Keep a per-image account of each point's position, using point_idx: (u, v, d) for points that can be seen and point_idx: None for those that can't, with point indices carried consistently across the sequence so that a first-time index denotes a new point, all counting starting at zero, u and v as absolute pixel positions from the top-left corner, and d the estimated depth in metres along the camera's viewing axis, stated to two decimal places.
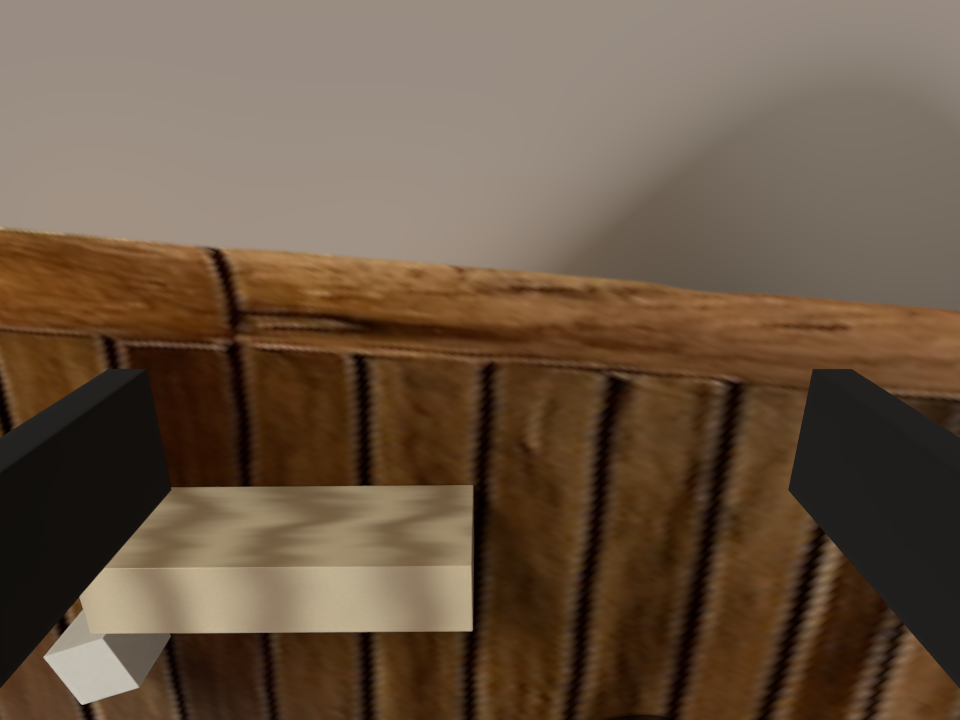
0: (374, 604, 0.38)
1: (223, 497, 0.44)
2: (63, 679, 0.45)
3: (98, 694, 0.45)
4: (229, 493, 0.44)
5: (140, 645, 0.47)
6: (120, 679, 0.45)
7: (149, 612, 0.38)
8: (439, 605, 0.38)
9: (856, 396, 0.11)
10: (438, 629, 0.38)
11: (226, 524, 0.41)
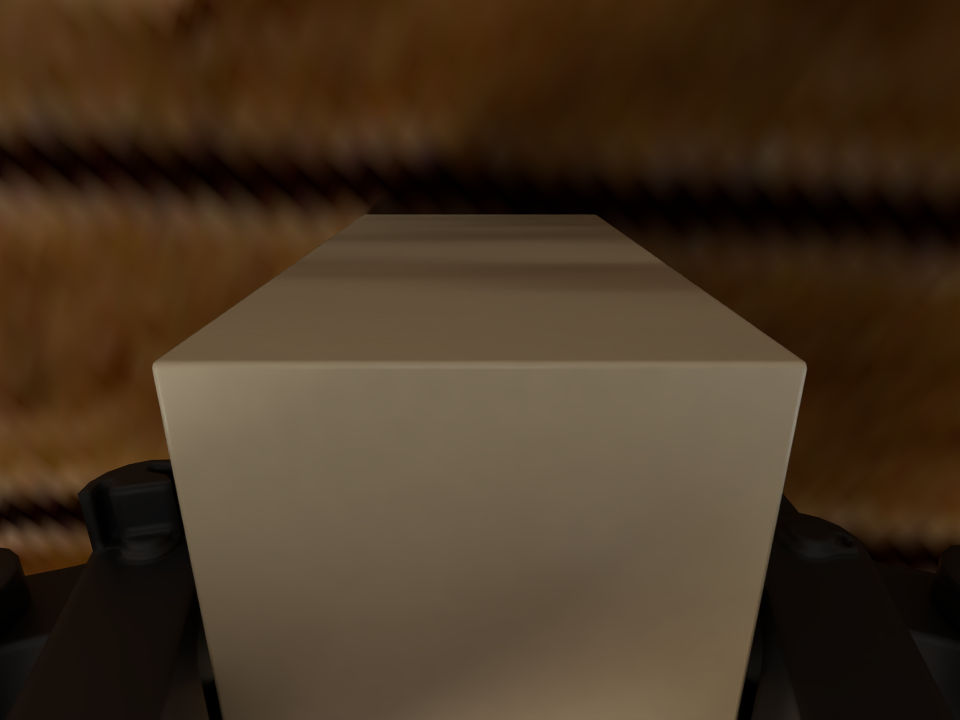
0: None
1: None
2: None
3: None
4: None
5: None
6: None
7: None
8: (526, 581, 0.05)
9: None
10: (743, 592, 0.05)
11: None
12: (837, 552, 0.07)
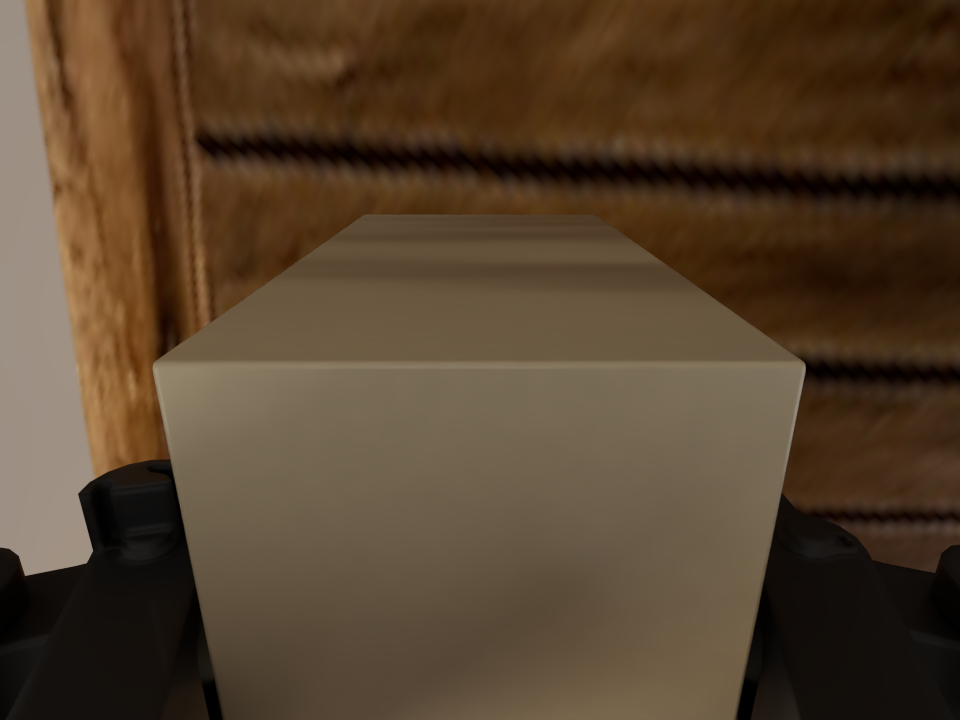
0: None
1: None
2: None
3: None
4: None
5: None
6: None
7: None
8: (526, 581, 0.05)
9: None
10: (742, 591, 0.05)
11: None
12: (837, 551, 0.07)
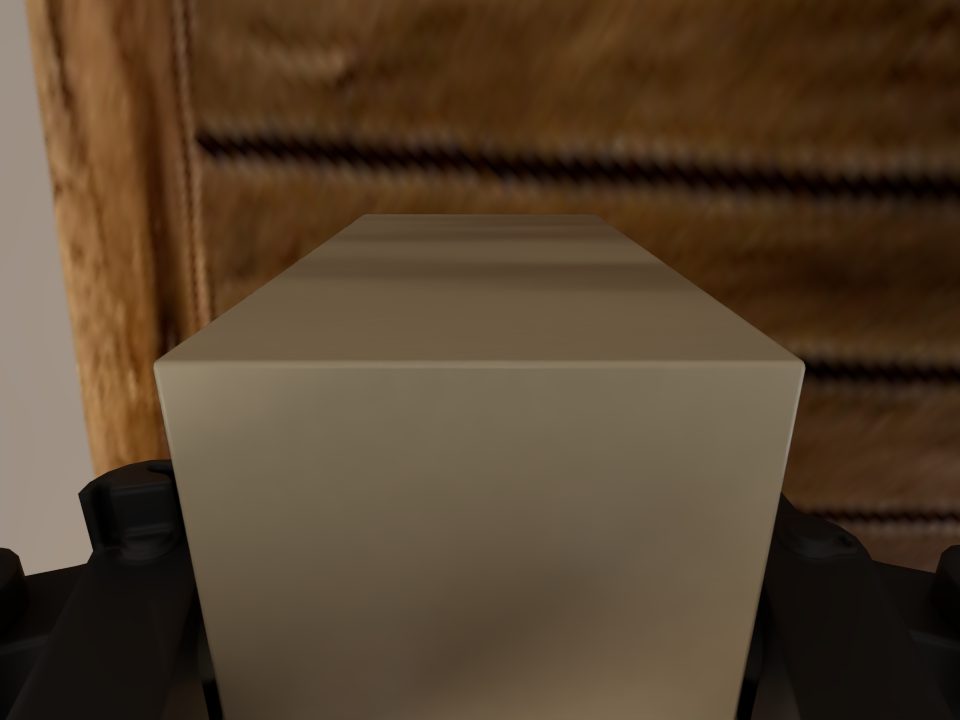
0: None
1: None
2: None
3: None
4: None
5: None
6: None
7: None
8: (525, 580, 0.05)
9: None
10: (742, 590, 0.05)
11: None
12: (838, 551, 0.07)
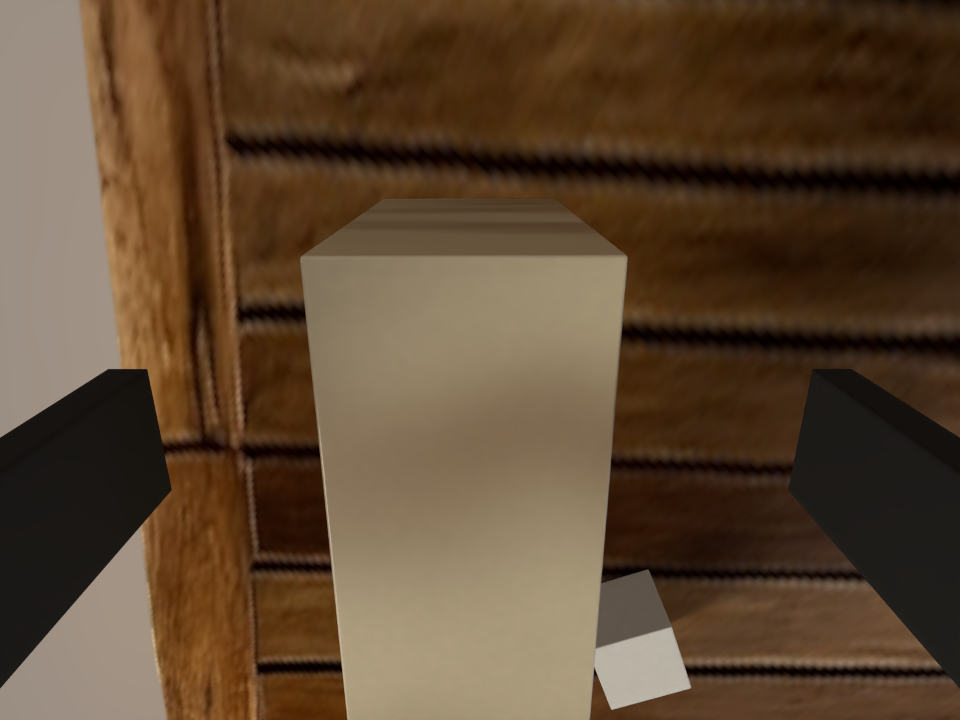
0: (482, 579, 0.11)
1: None
2: (647, 698, 0.37)
3: (676, 669, 0.36)
4: None
5: (629, 609, 0.37)
6: (655, 644, 0.35)
7: None
8: (489, 379, 0.10)
9: (857, 396, 0.11)
10: (606, 385, 0.10)
11: None
12: None
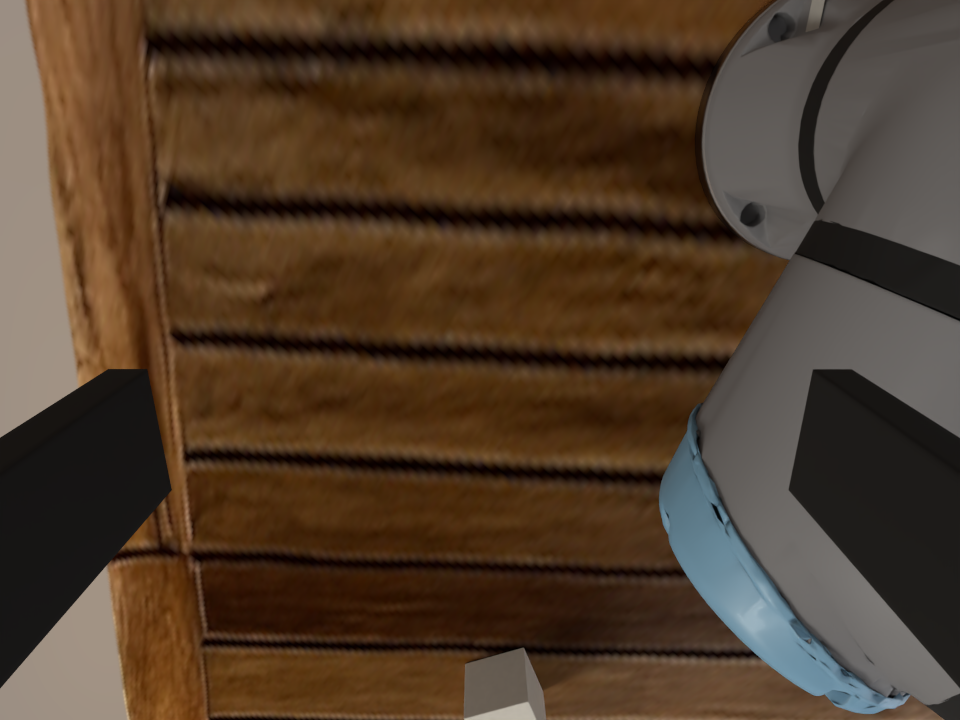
0: None
1: None
2: None
3: None
4: None
5: (501, 683, 0.46)
6: (516, 714, 0.44)
7: None
8: None
9: (857, 397, 0.11)
10: None
11: None
12: None
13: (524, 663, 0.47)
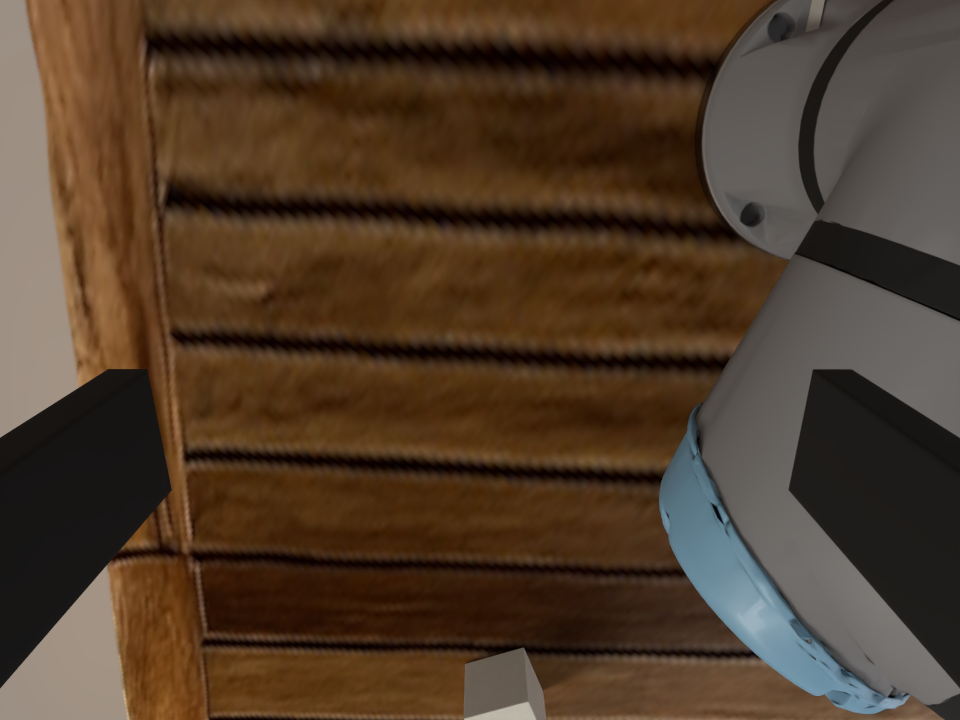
0: None
1: None
2: None
3: None
4: None
5: (501, 683, 0.46)
6: (516, 714, 0.44)
7: None
8: None
9: (857, 397, 0.11)
10: None
11: None
12: None
13: (524, 663, 0.47)
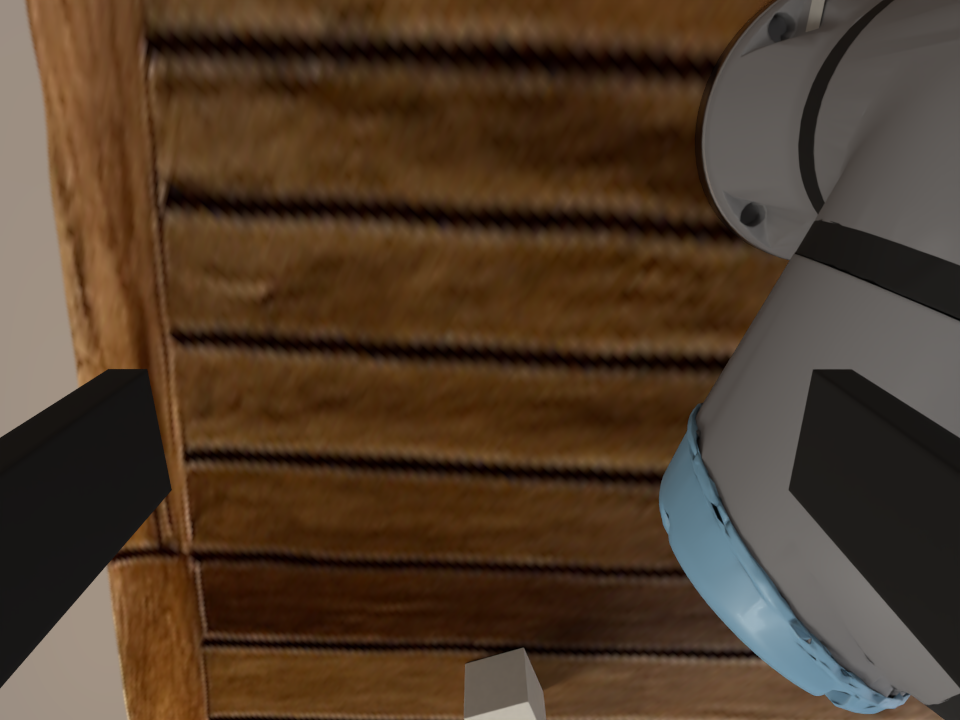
0: None
1: None
2: None
3: None
4: None
5: (501, 683, 0.46)
6: (516, 714, 0.44)
7: None
8: None
9: (857, 397, 0.11)
10: None
11: None
12: None
13: (524, 663, 0.47)
